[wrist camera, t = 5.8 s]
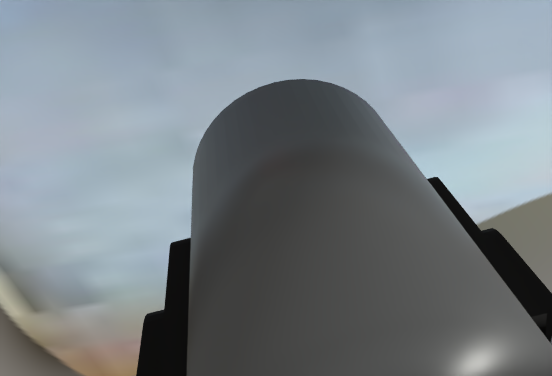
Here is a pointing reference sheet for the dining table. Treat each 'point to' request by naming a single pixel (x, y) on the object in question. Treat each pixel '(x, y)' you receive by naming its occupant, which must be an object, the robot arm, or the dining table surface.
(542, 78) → the dining table surface
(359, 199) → the plug
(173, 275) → the robot arm
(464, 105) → the dining table surface
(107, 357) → the dining table surface
